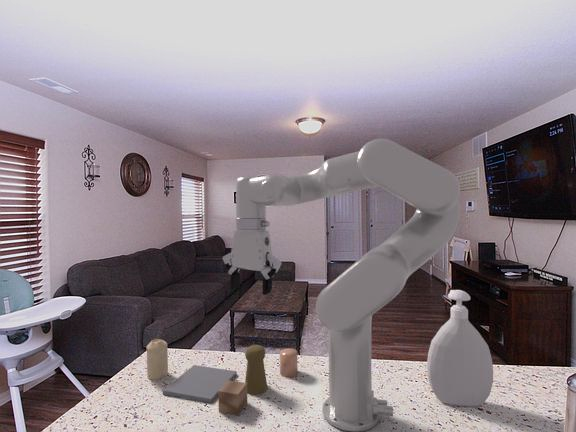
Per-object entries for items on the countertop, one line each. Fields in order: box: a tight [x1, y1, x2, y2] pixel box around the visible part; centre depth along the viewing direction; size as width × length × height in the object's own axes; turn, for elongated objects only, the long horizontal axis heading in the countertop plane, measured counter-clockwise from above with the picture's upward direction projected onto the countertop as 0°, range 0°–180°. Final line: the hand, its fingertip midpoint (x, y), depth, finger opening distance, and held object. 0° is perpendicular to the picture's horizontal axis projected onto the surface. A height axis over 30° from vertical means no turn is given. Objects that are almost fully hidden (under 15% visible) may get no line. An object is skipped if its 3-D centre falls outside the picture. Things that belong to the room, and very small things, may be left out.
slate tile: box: [162, 364, 238, 404], centre depth 88 cm, size 14×14×1 cm
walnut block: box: [217, 380, 248, 416], centre depth 78 cm, size 5×5×5 cm
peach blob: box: [279, 347, 299, 378], centre depth 93 cm, size 5×5×6 cm
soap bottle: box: [426, 289, 494, 408], centre depth 79 cm, size 14×8×27 cm, turn 79°
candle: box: [146, 338, 169, 380], centre depth 93 cm, size 6×6×10 cm
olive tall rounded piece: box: [244, 344, 268, 396], centre depth 85 cm, size 6×6×11 cm
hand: (250, 291), depth 84 cm, fingers open, 9 cm apart
